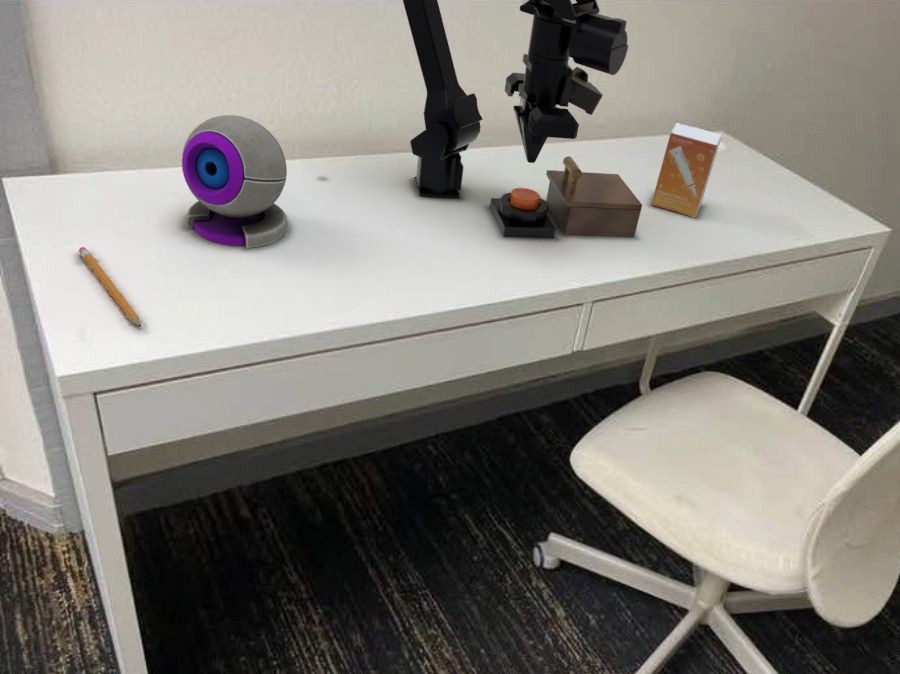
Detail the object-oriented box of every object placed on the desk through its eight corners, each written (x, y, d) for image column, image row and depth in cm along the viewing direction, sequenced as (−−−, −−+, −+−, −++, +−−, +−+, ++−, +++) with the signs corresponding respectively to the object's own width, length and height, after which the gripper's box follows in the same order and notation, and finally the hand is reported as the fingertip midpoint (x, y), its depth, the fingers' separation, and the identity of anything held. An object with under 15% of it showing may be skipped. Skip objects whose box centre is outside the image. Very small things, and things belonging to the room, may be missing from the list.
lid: (566, 206, 128) (571, 177, 126) (546, 174, 137) (550, 147, 134) (641, 209, 132) (648, 181, 130) (617, 178, 141) (623, 151, 138)
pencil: (76, 252, 104) (134, 329, 94) (80, 245, 104) (138, 321, 93) (84, 254, 105) (142, 331, 94) (88, 247, 105) (146, 323, 94)
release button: (541, 211, 130) (543, 200, 129) (513, 210, 128) (515, 199, 127) (534, 198, 133) (535, 188, 132) (506, 197, 132) (508, 187, 131)
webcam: (167, 228, 113) (155, 117, 104) (227, 196, 123) (221, 92, 114) (251, 257, 111) (246, 146, 102) (305, 222, 121) (305, 118, 112)
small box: (650, 205, 147) (669, 131, 139) (657, 193, 152) (676, 121, 144) (696, 218, 145) (717, 144, 138) (701, 205, 150) (722, 133, 143)
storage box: (565, 235, 132) (571, 206, 129) (545, 202, 140) (550, 175, 137) (634, 237, 135) (641, 210, 132) (610, 205, 144) (617, 179, 141)
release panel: (553, 238, 130) (557, 217, 128) (503, 237, 128) (506, 215, 126) (537, 209, 138) (540, 189, 135) (489, 207, 135) (492, 187, 133)
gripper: (624, 81, 113) (600, 191, 122) (583, 39, 127) (564, 141, 136) (545, 73, 110) (526, 187, 119) (511, 31, 123) (497, 136, 133)
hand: (530, 161), depth 127 cm, fingers closed
